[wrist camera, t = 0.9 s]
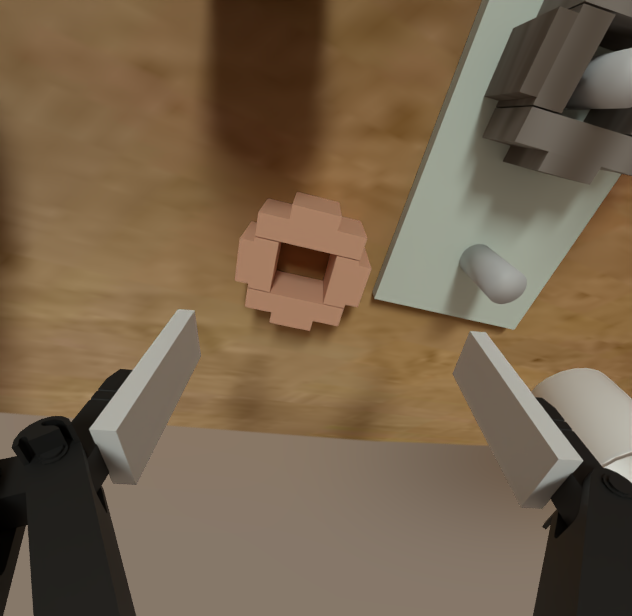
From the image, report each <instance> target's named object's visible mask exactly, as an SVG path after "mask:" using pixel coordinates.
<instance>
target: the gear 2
mask: <svg viewBox="0 0 632 616" xmlns="http://www.w3.org/2000/svg"><path fill="white" fill-rule="evenodd" d="M598 46H600V47H603V48H606V49H609V50H612V51H620V50H624V49H629V48H632V0H544V1H543V3H542V5H541V8H540V10H539V12H538V14H537V17H536V18H534V19H532V20H530V21H527V22H525V23H523V24H521V25H519V26H517V27H515V28H513V30H512V32H511V34H510V37H509V39H508V41H507V44H506V46H505V48H504V51H503V53H502V55H501V58H500V60H499V62H498V65H497V67H496V69H495V72H494V74H493V76H492V79H491V81H490V83H489V86H488V88H487V90H486V93H485V95H484V97H488V98H491V99H494V100H497V101H498V103H497V105H496V107H498V108H495V110H494V112H493V114H492V116H491V119H490V121H489V123H488V125H487V127H486V130H485V132H484V134H483V136H482V138H486V139H489V140H493V141H496V142H500V143H503V144H507V145H510V148H509V150H508V152H507V154H506V156H505V158H504V160H503V162H506V163H509V164H513V165H516V166H520V167H524V168H527V169H531V170H534V171H538V172H541V173H545V174H549V175H553V176H557V177H560V178H564V179H568V180H572V181H576V182H580V183H584V184H588V185H590V184H591V182H592V180H593V179H594V177H595V176H596V174H597V173H598V171H599V170H604V171H609V172H615V173H620V174H625V175H631V176H632V107H631V108H617V109H590V111H589V112H588V114H587V116H586V118H585V119H584V121H583V122H581V121H578V120H575V119H572V118H568V117H565V116H562V115H558V114H556V113H562V112H563V110H564V108H565V107H566V105H567V103H568V101H569V99H570V97H571V96H572V94H573V92H574V90H575V88H576V86H577V85H578V83H579V81H580V79H581V77H582V75H583V74H584V72H585V70H586V68H587V66H588V65H589V63H590V61H591V59H592V57H593V55H594V54H595V52H596V50H597V48H598Z"/></svg>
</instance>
